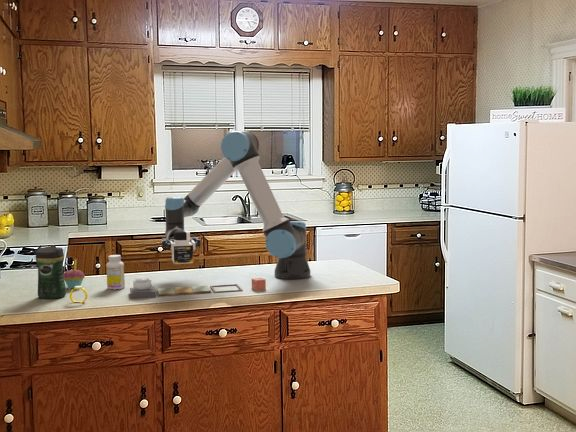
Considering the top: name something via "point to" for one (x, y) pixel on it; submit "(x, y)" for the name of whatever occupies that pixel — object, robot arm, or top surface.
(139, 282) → the dome
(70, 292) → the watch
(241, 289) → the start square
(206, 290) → the track
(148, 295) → the popper base
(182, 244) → the medicine bottle
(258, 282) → the die
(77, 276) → the cupcake
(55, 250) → the coffee jar
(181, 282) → the top surface
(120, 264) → the supplement bottle
